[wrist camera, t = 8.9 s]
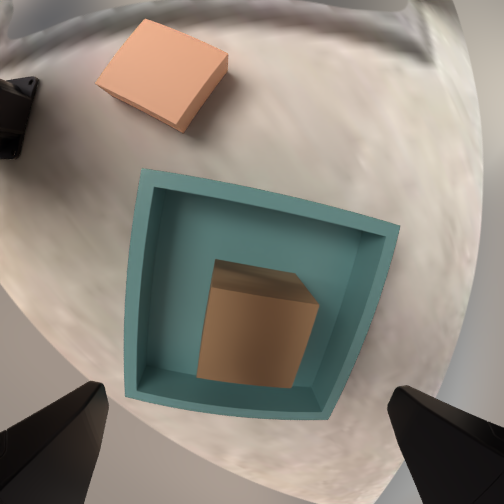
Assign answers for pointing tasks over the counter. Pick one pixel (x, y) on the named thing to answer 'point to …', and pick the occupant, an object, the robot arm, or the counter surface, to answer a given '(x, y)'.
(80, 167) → the counter surface
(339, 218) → the tote
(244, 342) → the walnut block
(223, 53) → the terracotta carton
